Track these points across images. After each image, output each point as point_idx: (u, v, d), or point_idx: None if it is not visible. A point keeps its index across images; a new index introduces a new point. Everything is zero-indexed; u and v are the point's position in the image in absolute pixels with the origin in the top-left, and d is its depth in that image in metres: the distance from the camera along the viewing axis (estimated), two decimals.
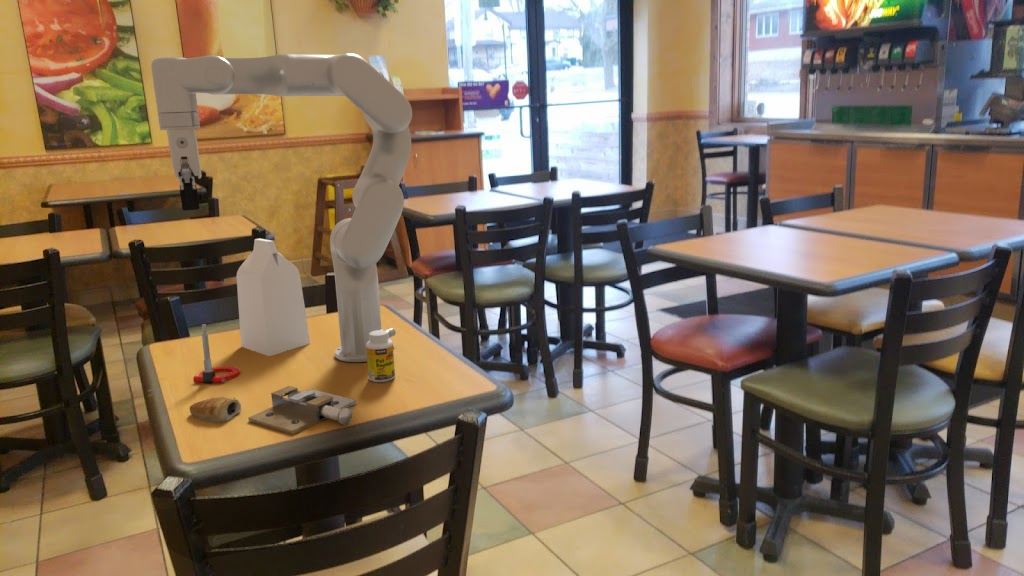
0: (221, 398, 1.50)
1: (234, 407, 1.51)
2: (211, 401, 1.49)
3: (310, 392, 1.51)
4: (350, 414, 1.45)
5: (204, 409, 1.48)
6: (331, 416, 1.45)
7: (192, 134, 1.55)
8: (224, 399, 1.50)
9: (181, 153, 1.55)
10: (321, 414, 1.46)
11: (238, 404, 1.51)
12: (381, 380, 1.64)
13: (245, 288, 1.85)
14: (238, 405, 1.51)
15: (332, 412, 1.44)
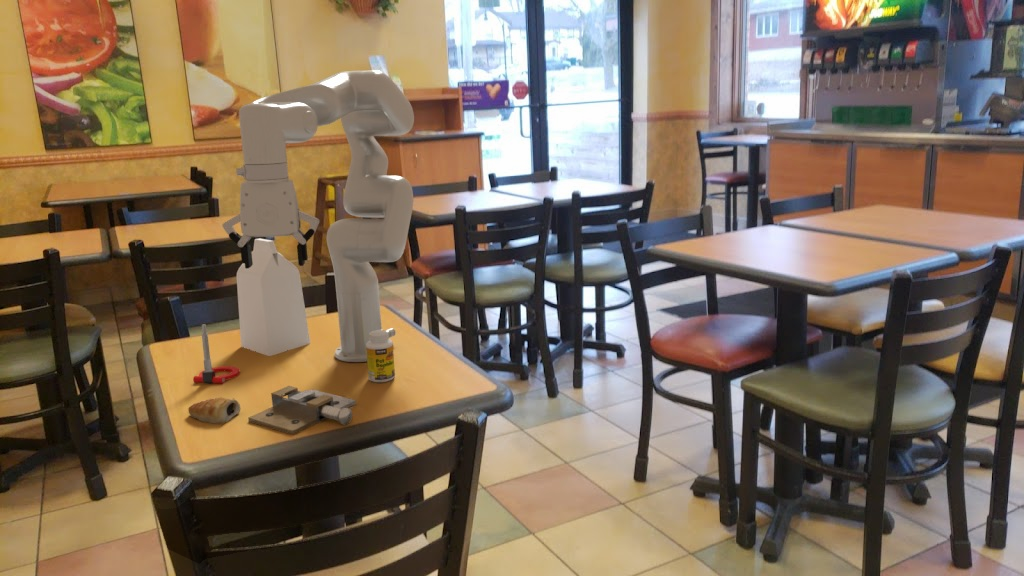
0: (220, 399, 1.50)
1: (233, 408, 1.51)
2: (210, 402, 1.49)
3: (310, 392, 1.51)
4: (350, 414, 1.45)
5: (203, 410, 1.47)
6: (331, 416, 1.45)
7: (241, 189, 1.41)
8: (223, 400, 1.50)
9: None
10: (321, 414, 1.46)
11: (237, 405, 1.51)
12: (381, 380, 1.64)
13: (245, 288, 1.85)
14: (237, 406, 1.51)
15: (332, 412, 1.44)
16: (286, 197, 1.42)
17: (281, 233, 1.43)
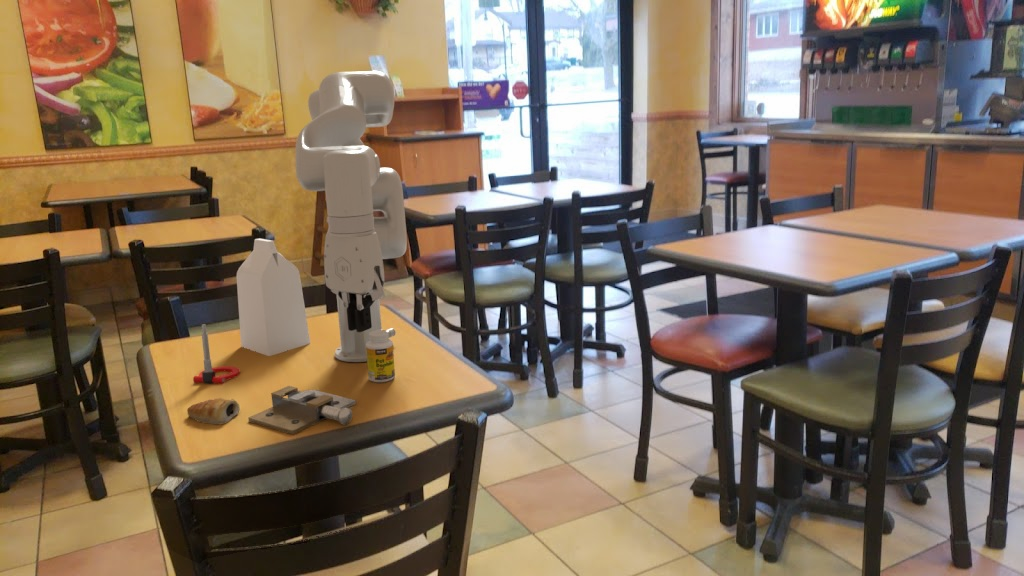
0: (219, 399, 1.50)
1: (232, 408, 1.50)
2: (209, 403, 1.48)
3: (310, 392, 1.51)
4: (350, 414, 1.45)
5: (203, 411, 1.47)
6: (331, 416, 1.45)
7: (325, 239, 1.34)
8: (222, 400, 1.49)
9: None
10: (321, 414, 1.46)
11: (236, 405, 1.50)
12: (381, 380, 1.64)
13: (245, 288, 1.85)
14: (236, 406, 1.50)
15: (332, 412, 1.44)
16: (357, 253, 1.29)
17: (354, 291, 1.32)
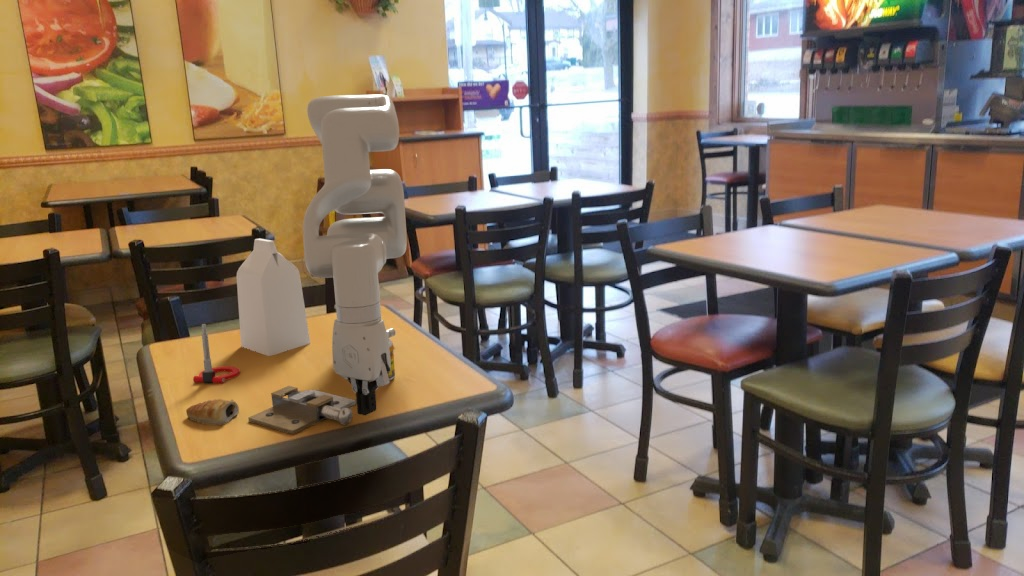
0: (219, 400, 1.49)
1: (232, 409, 1.50)
2: (209, 403, 1.48)
3: (310, 392, 1.51)
4: (350, 414, 1.45)
5: (202, 412, 1.46)
6: (331, 416, 1.45)
7: (333, 326, 1.37)
8: (222, 401, 1.49)
9: None
10: (321, 414, 1.46)
11: (236, 406, 1.50)
12: None
13: (245, 288, 1.85)
14: (236, 407, 1.50)
15: (332, 412, 1.44)
16: (365, 342, 1.33)
17: (361, 378, 1.35)
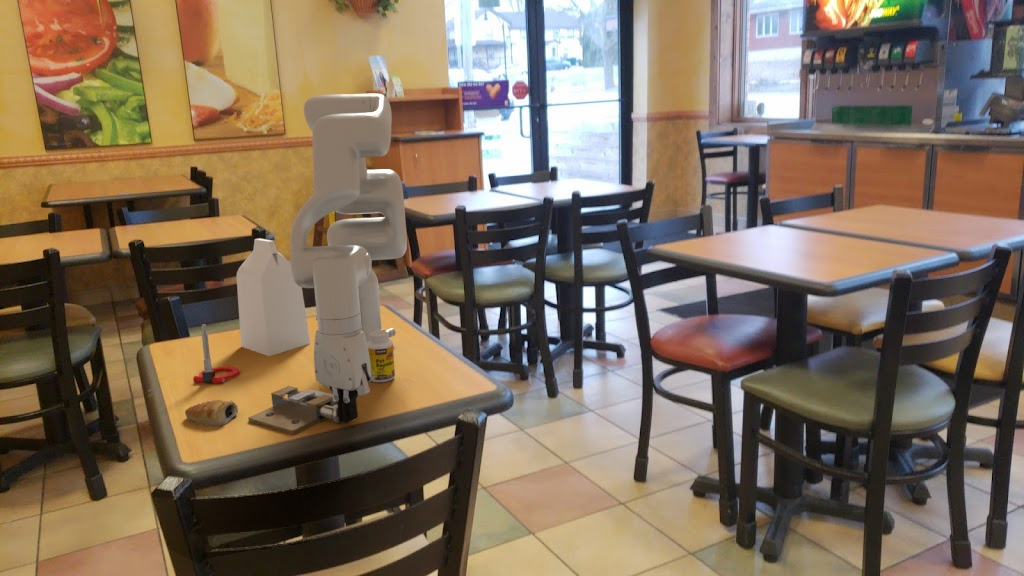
0: (218, 401, 1.49)
1: (231, 410, 1.50)
2: (208, 404, 1.47)
3: (310, 392, 1.51)
4: None
5: (201, 412, 1.46)
6: (325, 414, 1.45)
7: (315, 336, 1.41)
8: (221, 402, 1.49)
9: None
10: None
11: (235, 407, 1.50)
12: (381, 380, 1.64)
13: (245, 288, 1.85)
14: (235, 408, 1.50)
15: (326, 410, 1.45)
16: (345, 353, 1.36)
17: (342, 387, 1.39)
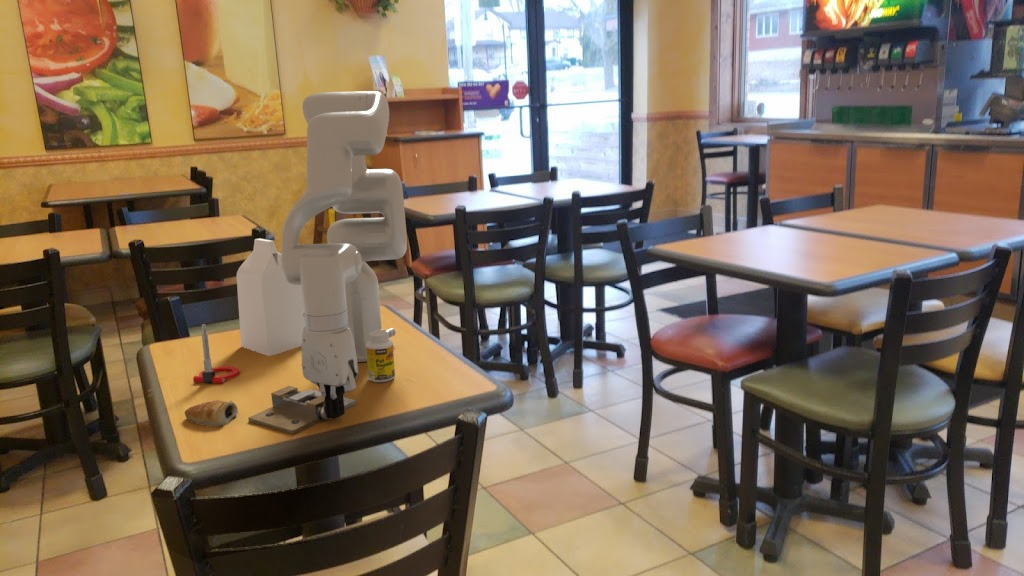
0: (217, 401, 1.49)
1: (231, 410, 1.49)
2: (208, 405, 1.47)
3: (310, 392, 1.51)
4: None
5: (201, 413, 1.46)
6: None
7: (302, 333, 1.42)
8: (221, 402, 1.48)
9: None
10: None
11: (235, 407, 1.50)
12: (381, 380, 1.64)
13: (245, 288, 1.85)
14: (235, 408, 1.50)
15: None
16: (332, 349, 1.38)
17: (329, 383, 1.40)
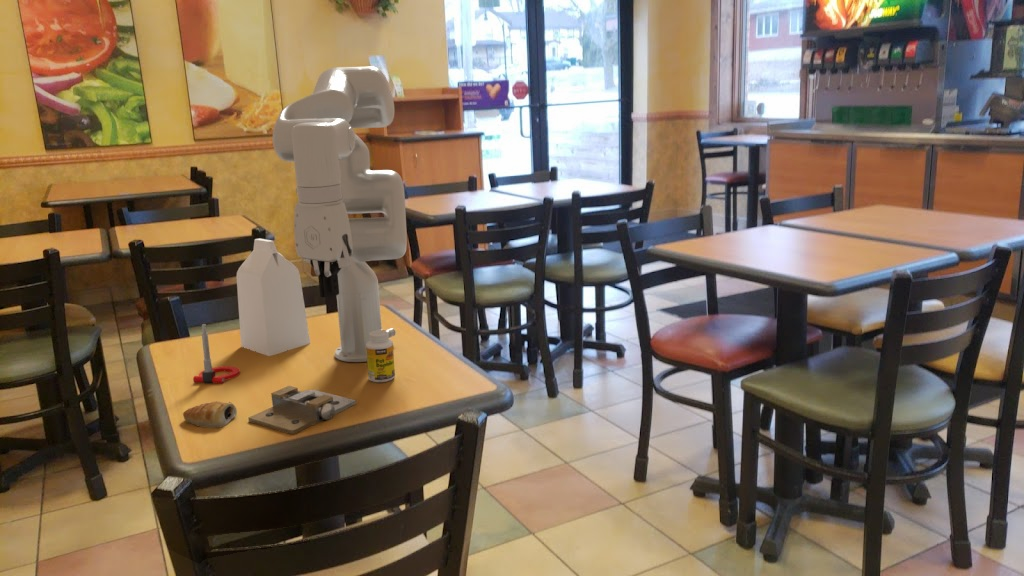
0: (216, 403, 1.48)
1: (230, 411, 1.49)
2: (207, 406, 1.46)
3: (310, 392, 1.51)
4: (332, 409, 1.47)
5: (200, 414, 1.45)
6: None
7: None
8: (220, 404, 1.48)
9: None
10: None
11: (234, 408, 1.49)
12: (381, 380, 1.64)
13: (245, 288, 1.85)
14: (234, 409, 1.49)
15: None
16: (326, 222, 1.35)
17: (323, 259, 1.37)
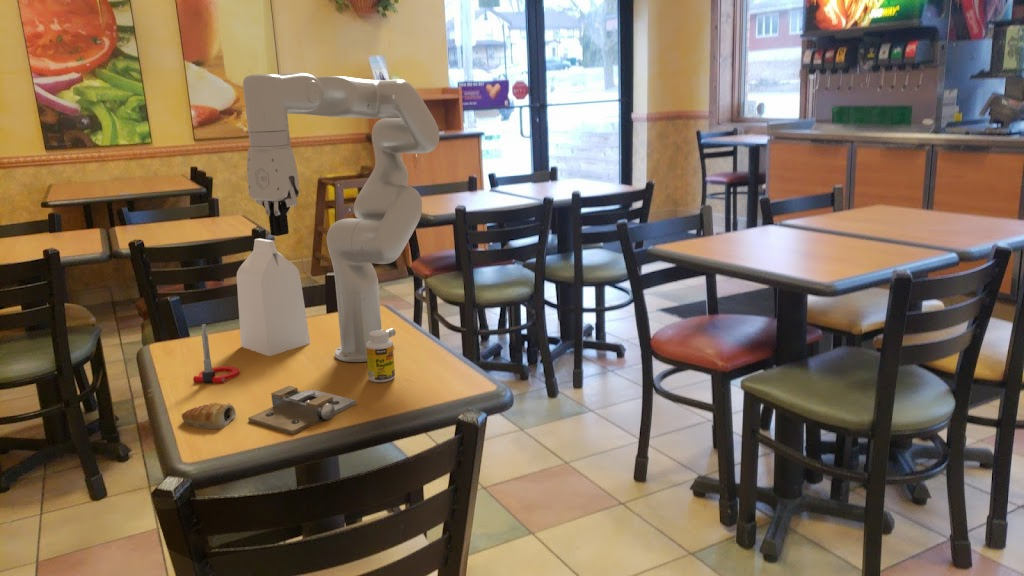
0: (215, 404, 1.47)
1: (229, 413, 1.48)
2: (206, 407, 1.46)
3: (310, 392, 1.51)
4: (332, 409, 1.47)
5: (199, 416, 1.45)
6: None
7: None
8: (219, 405, 1.47)
9: None
10: None
11: (233, 409, 1.49)
12: (381, 380, 1.64)
13: (245, 288, 1.85)
14: (233, 410, 1.49)
15: None
16: (273, 164, 1.49)
17: (271, 198, 1.51)
